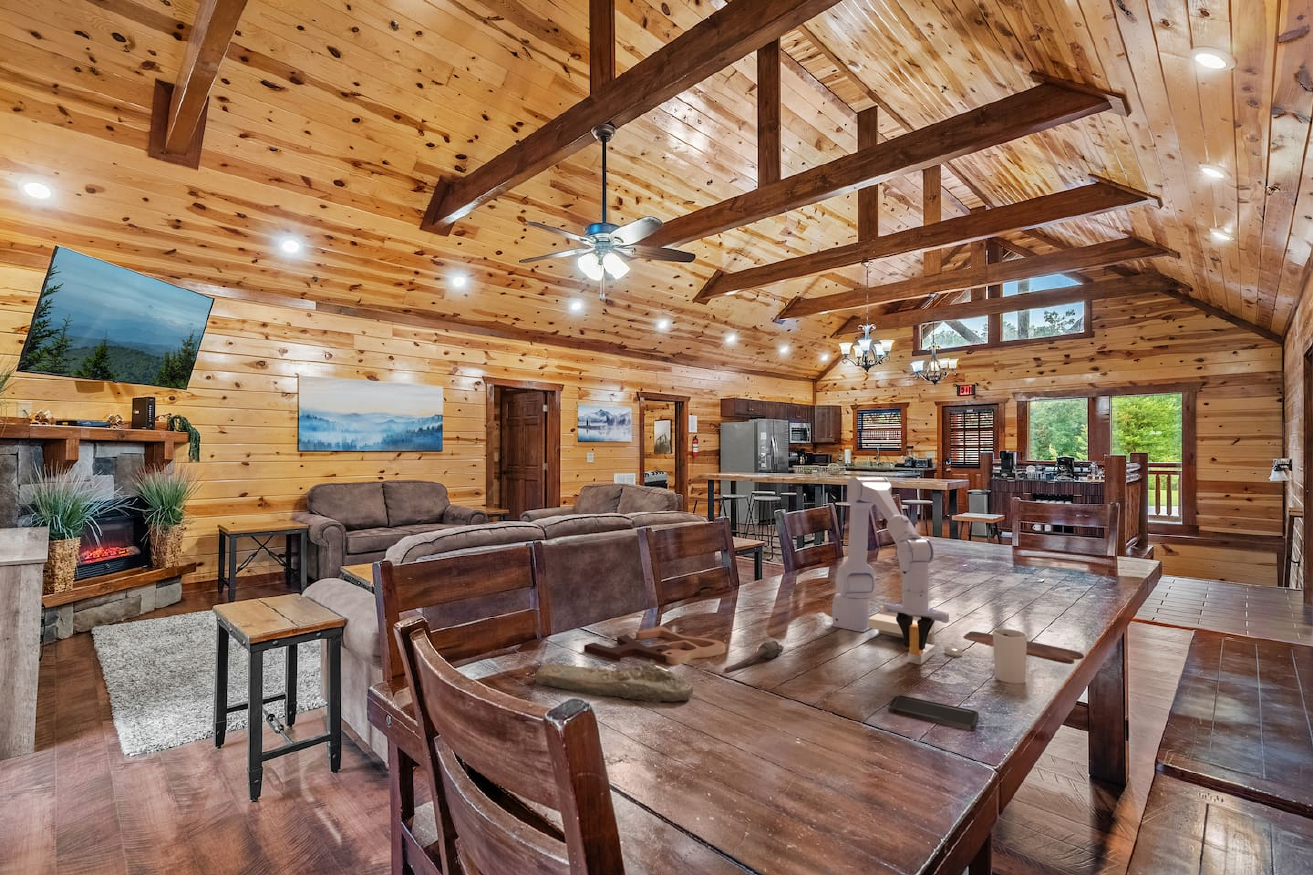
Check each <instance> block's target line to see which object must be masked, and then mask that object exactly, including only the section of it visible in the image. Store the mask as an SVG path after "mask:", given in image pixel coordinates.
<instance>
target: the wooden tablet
mask: <svg viewBox="0 0 1313 875" xmlns="http://www.w3.org/2000/svg"><path fill="white" fill-rule="evenodd" d="M962 638H963V639H964V640H968V641H970V642H974V643H978V644H982V645H983V644H984V645H987V646H991V647H994V644H993V633H992V634H990V633H986V632H980V631H970V632H967V633H966V634H964V635H963V636H962ZM1026 655H1032V656H1035V657H1039V658H1043V659H1047V660H1052V661H1055V662H1061V663H1066V664H1074V663H1075V660H1080V659H1083V658H1084V657H1085V655H1084V653H1083V652H1079V651H1077V650H1072V649H1068V648H1063V647H1057V646H1052V645H1048V644H1043V643H1038V642H1034V641H1028V640H1027V650H1026Z"/></svg>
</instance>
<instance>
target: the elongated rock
mask: <svg viewBox="0 0 1313 875" xmlns="http://www.w3.org/2000/svg"><path fill="white" fill-rule="evenodd" d="M535 682H536V685H541V686H543V685H544V686H548V687H549V686H550V687H552V688H558V689H561V690H567V691H571V692H573V693H575V692H580V693H585V694H589V695H594V696H601V697H602V696H604V697H606V696H608V697H617V698H619V697H621V698H623V699H626V700H634V701H638V700H640V701H641V700H642V701H647V702H653V703H662V702H672V703H673V702H680V701H688V700H689V699H690V698H691V697H692V695H693V693H694V687H693V685H692V683H690V682H689V681H687V680H686V679H685V678H684V677H681V676H680V675H678V674H676V673H675V672H673V671H670V670H668V671H666V670H664V669H663V668H661V667H657V666H656V664H655V662H648V663H645V664H644V663H643V664H642V665H640V666H639V665H638V666H636V667H634V668H631V667H628V668H625V669H619V670H611V669H606V668H594V667H586V666H575V665H566V664H565V665H564V664H560V663H556V664H555V663H552V664H547V665H544V666H542V667H538V670H537V671H536V673H535Z"/></svg>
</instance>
